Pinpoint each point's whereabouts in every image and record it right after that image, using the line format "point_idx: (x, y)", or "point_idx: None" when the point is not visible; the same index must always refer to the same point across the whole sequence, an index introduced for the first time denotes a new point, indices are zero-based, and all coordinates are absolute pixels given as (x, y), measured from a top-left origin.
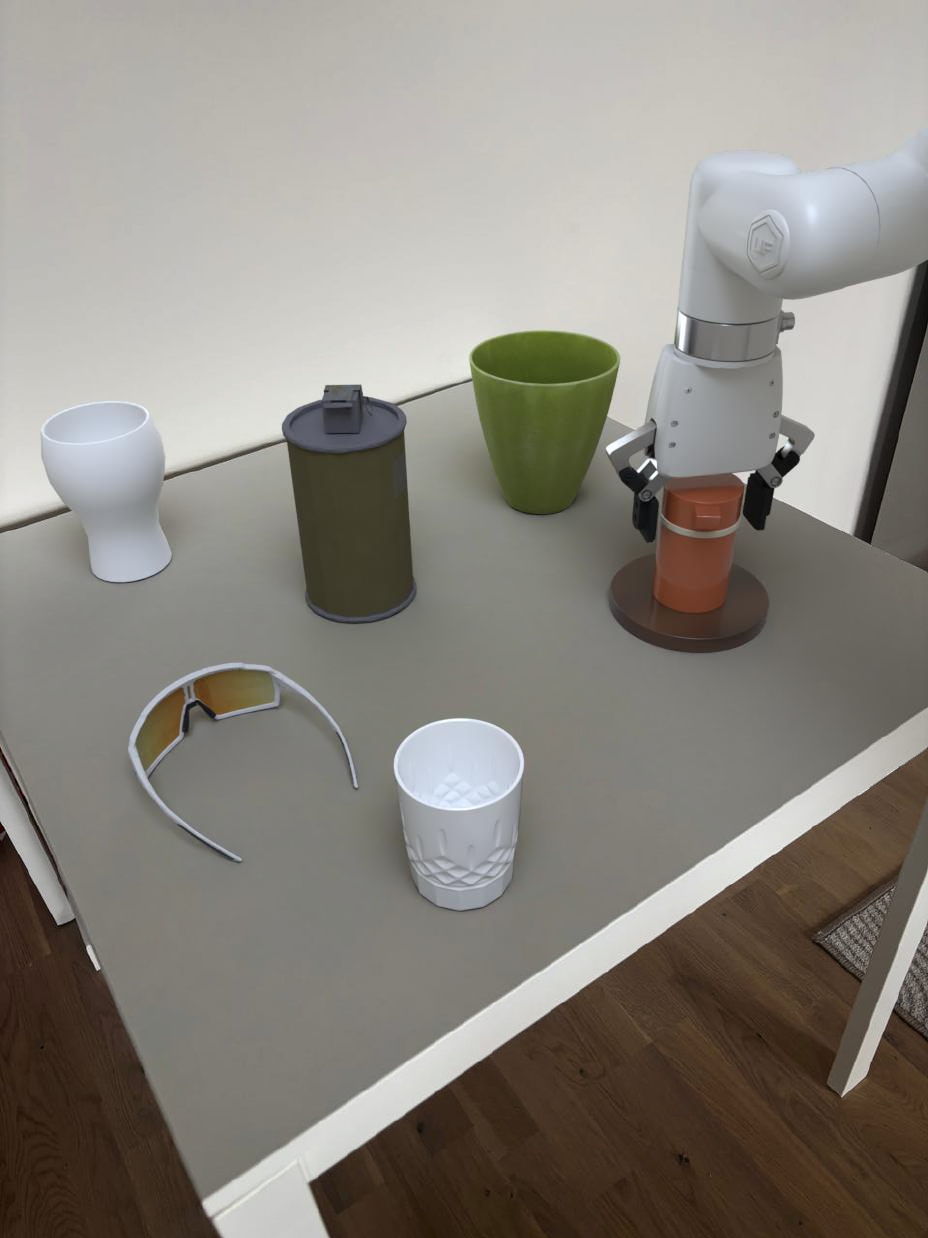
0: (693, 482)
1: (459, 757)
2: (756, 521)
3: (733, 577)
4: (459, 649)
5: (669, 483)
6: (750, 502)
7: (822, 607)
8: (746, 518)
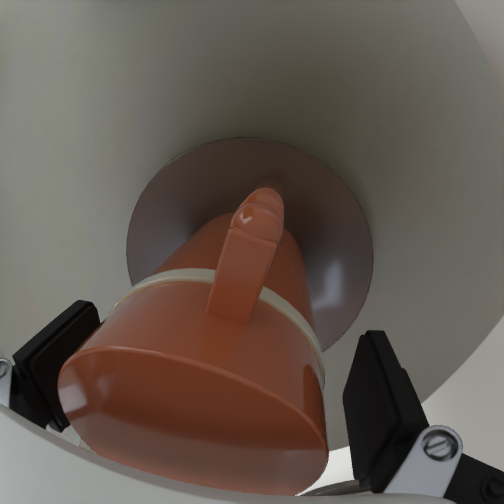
0: (145, 440)
1: None
2: (345, 410)
3: (337, 252)
4: (14, 268)
5: (72, 412)
6: (363, 397)
7: (423, 308)
8: (355, 354)
